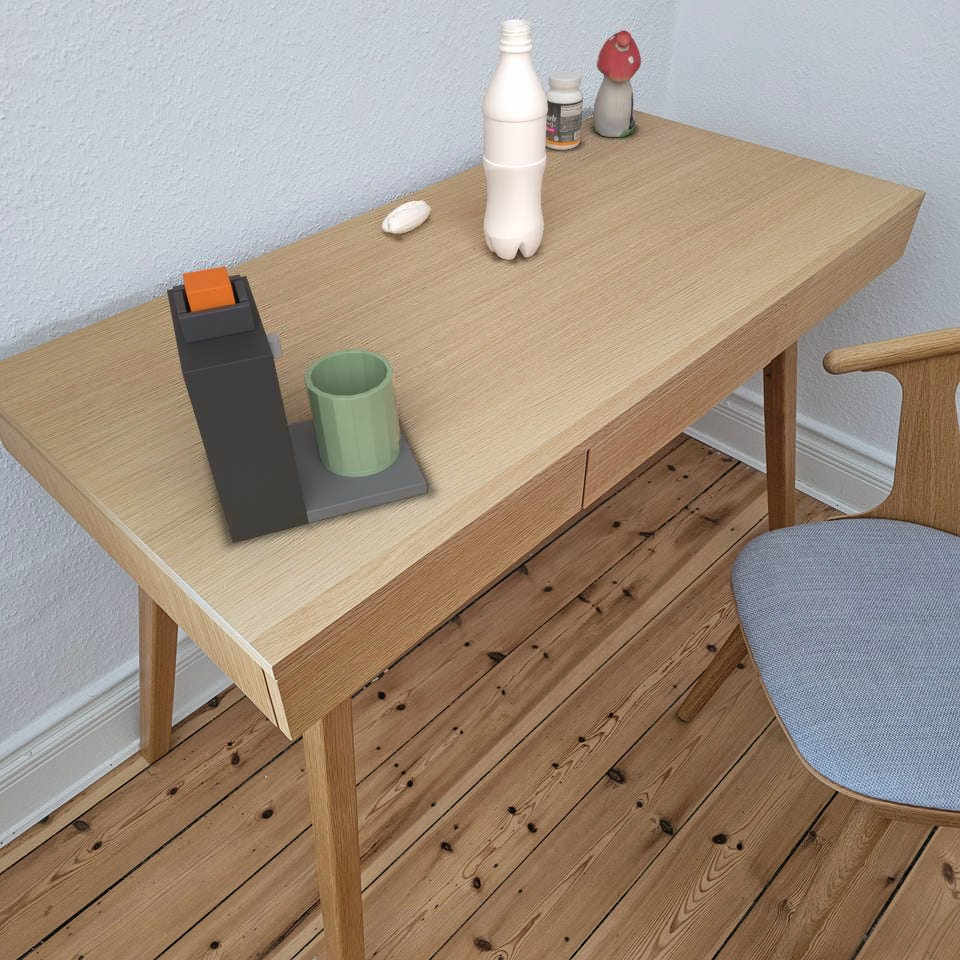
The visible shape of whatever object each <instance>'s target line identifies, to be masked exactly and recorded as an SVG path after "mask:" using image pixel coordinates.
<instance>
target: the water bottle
mask: <svg viewBox="0 0 960 960" xmlns="http://www.w3.org/2000/svg"><path fill="white" fill-rule="evenodd" d="M500 26H501V27H500V31H501V32H500V34H501V38H500V39H499V42H500V43H499V44H498V50H499V51H500V56H499V60H498V64H497V67H496V69H495V71H494V73H493V75H492V77H491V79H490V82H489V84H488V86H487V88H486V91H485V93H484V96H483V100H482V106H481V113H482V115H483V117H482V118H483V153H482V168H483V172H484V176H485V179H486V181H485V182H486V194H487V195H486V197H487V198H486V206H485V207H486V208H485V214H484V217H483V218H484V219H483V235H484V241H485V243H486V246H487V249H489V251H491V252H492V253H495V254H496V255H497V257H498V258H501V259H502V260H507V261H511V260H514V259H515V257H516V256H517V253H518V250H519V251H520V253H521V255H522V256H523V257H524V258H530V257H532V256H533V255H535V254H536V252H537V251H538V249H539V247H540V245H541V243H542V240H543V236H544V229H545V220H544V215H543V211H542V186H543V179H544V175H545V171H546V167H547V153H546V147H547V146H546V119H547V112H548V103H547V98H546V92H545V89H544V87H543V84H542V82H541V80H540V77H539V75H538V73H537V71H536V69H535V66H534V64H533V59H532V54H531V51H533V49H534V45H533V44H532V38H531V34H532V33H531V31H532V30H531V28H532V26H531V22H530V21H529V20H525V19H507V20H503V21H502V22H501V24H500Z"/></svg>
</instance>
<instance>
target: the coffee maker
mask: <svg viewBox="0 0 960 960" xmlns="http://www.w3.org/2000/svg"><path fill="white" fill-rule="evenodd" d="M228 276H229V280H230V283H231V286H232V291H233V295H234V299H235V303H236V304H232V305H226V306H221V307H216V308H210V309H205V310H200V311H194V312H191V308H190V305H189V301H188V297H187V294H186V289H185V285H184V283H183V284H178V285H173V286H172V288H170V289H167V290H166V295H167V299H168V304H169V309H170V314H171V320H172V326H173V331H174V337H175V342H176V348H177V353H178V359H179V363H180V364H179V365H180V369H181V374H182V377H183V381H184V384H185V387H186V391H187V395H188V397H189V401H190V404H191V408H192V410H193V411H192V412H193V414H194V417H195V421H196V424H197V428H198V431H199V434H200V438H201V440H202V444H203V447H204V451H205V455H206V458H207V461H208V464H209V468H210V471H211V474H212V477H213V478H212V479H213V481H214V484H215V487H216V491H217V494H218V497H219V501H220V504H221V507H222V511H223V514H224V518H225V521H226V524H227V527H228V531H229V534H230V535H229V536H230V538H231V540H232V543H233V544H234V543H238V542H241V541H246V540H250V539H254V538H257V537H261V536H265V535H268V534H273V533H277V532H281V531H285V530H288V529H293V528H297V527H301V526H305V525H308V524H309V523H310V524H311V523H314V522H319V521H323V520H326V519H331V518H334V517H337V516H342V515H346V514H351V513H353V512H358V511H362V510H366V509H369V508H373V507H377V506H381V505H385V504H389V503H393V502H398V501H400V500H405V499H409V498H413V497H417V496H419V495H424V494H427V493H428V485H427V481H426V478H425V477H424V475H423V473H422V470H421V468H420V466H419V464H418V462H417V460H416V458H415V456H414V454H413V452H412V450H411V448H410V446H409V444H408V441H407V439H406V437H405V435H404V433H403V431H402V429H401V428H400V426H399V428H400V438H401V442H400V445H401V451H400V454H399V456H398V458H397V459H396V461H395V462H394V463H393V464H392V465H391V466H389V467H388V468H386V469H385V470H383V471H381V472H379V473H376V474H373V475H369V476H363V477H347V476H341V475H338V474H335V473H333V472H331V471H329V470H328V469H326V468H325V467H324V466H323V464H322V463H321V461H320V458H319V453H318V450H317V446H316V440H315V435H314V429H313V424H312V419H307V420H302V421H299V422H293V423H288V419H287V414H286V410H285V404H284V401H283V395H282V391H281V386H280V382H279V377H278V376H279V375H278V372H277V367H276V362H275V360H277V359H281V358H282V356H283V354H284V352H283V349H282V343H281V338H280V335H279V334H278V333H276V332H269V333H266V330H265V327H264V324H263V321H262V319H261V316H260V315H261V314H260V312H259V308H258V305H257V303H256V300H255V297H254V294H253V292H252V288H251V285H250V281H249V280H248V276H247V275H241V274H240V273H239V274H234V275H228Z"/></svg>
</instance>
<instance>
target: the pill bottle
mask: <svg viewBox="0 0 960 960" xmlns="http://www.w3.org/2000/svg"><path fill="white" fill-rule="evenodd" d="M581 84H582V75H581V73H580V72H578V71H574V70H567V69H566V70H565V69H564V70H554V71H552V72H550V73H549V74H548V86H549V89H547V90H546V92H545V94H546V98H547V103H548V112H547V119H546V146H545V147H547V148H549V149H552V150H559V151H565V150H571V149H574V148H576V147H578V146H579V145H580V144H581V135H582V118H583V105H584V94H583V92H582V90H581V89H579V87H580V86H581Z"/></svg>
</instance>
